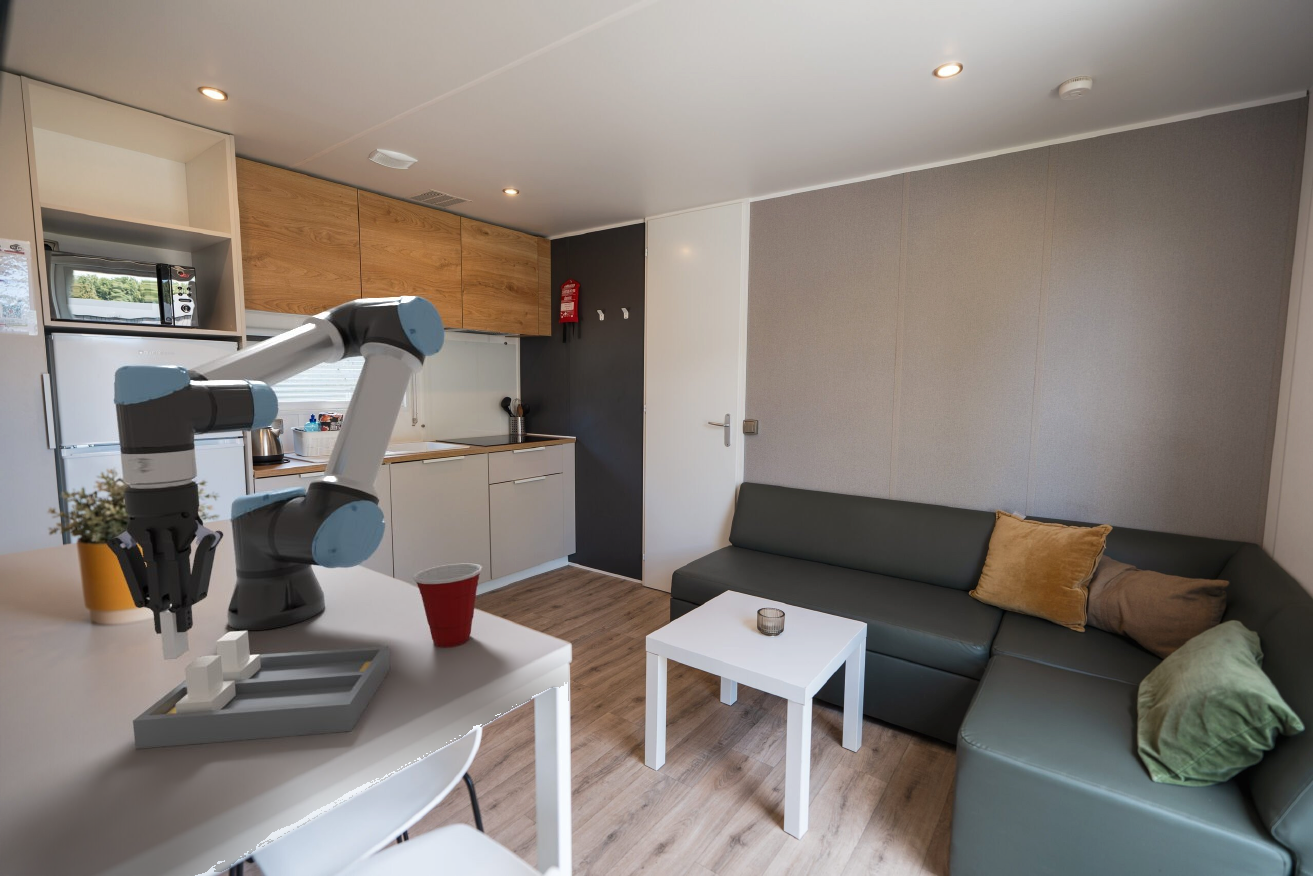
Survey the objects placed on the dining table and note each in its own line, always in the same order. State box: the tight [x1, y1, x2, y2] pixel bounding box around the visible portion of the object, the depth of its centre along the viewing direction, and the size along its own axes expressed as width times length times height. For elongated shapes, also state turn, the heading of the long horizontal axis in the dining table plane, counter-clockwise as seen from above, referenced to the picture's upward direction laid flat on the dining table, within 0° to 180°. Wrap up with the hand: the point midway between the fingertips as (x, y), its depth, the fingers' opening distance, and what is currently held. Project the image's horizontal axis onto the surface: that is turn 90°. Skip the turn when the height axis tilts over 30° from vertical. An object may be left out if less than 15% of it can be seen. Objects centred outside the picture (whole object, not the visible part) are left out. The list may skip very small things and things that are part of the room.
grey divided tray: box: [132, 645, 391, 750], centre depth 80 cm, size 16×24×4 cm, turn 98°
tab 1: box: [176, 655, 236, 713], centre depth 75 cm, size 5×4×6 cm
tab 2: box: [216, 630, 261, 681], centre depth 82 cm, size 5×4×6 cm
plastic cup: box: [412, 562, 483, 648], centre depth 99 cm, size 11×11×12 cm
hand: (176, 654), depth 81 cm, fingers closed
